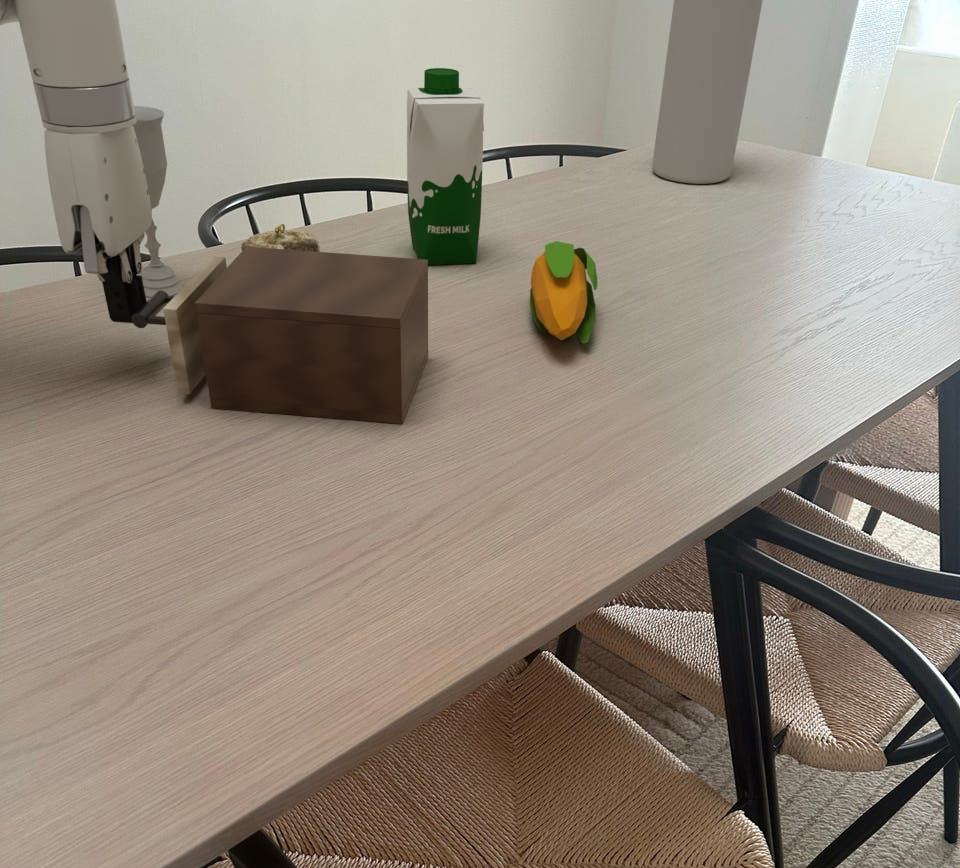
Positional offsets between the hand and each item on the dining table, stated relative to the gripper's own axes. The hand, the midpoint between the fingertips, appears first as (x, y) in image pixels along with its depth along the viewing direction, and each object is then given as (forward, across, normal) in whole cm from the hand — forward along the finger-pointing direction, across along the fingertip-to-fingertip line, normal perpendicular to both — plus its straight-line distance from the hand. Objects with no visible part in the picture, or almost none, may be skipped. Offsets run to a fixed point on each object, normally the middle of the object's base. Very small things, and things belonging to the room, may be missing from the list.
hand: (130, 319), depth 94 cm
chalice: (+5, -20, -5) cm, 21 cm away
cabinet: (+5, 0, +19) cm, 19 cm away
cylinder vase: (+5, -84, +58) cm, 102 cm away
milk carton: (+5, -38, +25) cm, 45 cm away
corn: (+5, -18, +41) cm, 45 cm away
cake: (+5, -29, +7) cm, 30 cm away
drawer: (+4, 0, +12) cm, 13 cm away
